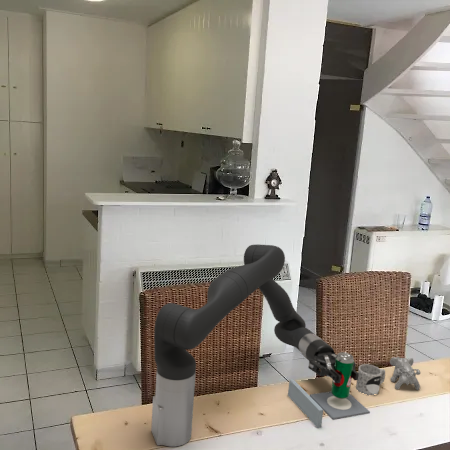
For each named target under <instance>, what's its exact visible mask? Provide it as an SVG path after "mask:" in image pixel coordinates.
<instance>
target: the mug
mask: <svg viewBox="0 0 450 450" xmlns="http://www.w3.org/2000/svg"><path fill="white" fill-rule="evenodd" d="M357 372H358V373H359V375H358V380H356V386H355V389H356V391H357V390H358V391H357V392H358V393H360V392H361V393H360V394H362V393H364V394H367V395H366V396H369V395H374V394H377V395H379V393H378V392H380V387H381V386H380V385H382V384H383V383H384V382H385V378H386V369H384V368H379V367H378V366H377V365H376V366H375V365H373V364H368V363H366V364H364V363H363V364H361V365H359V366H358V371H357ZM364 394H363V395H364ZM374 396H375V395H374Z"/></svg>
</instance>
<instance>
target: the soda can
mask: <svg viewBox="0 0 450 450" xmlns="http://www.w3.org/2000/svg"><path fill="white" fill-rule="evenodd" d="M336 355H337V356H336V359H335V366H334V370H335V371H336V372H337V373H338V374H340V375H341V382H340V383H337V382H336V381H334V380H333V379H332V382H331V388H330V389H331V390H330V391H331V393H332V394H333V396H335V397H336V398H340V399H345V398H347V397H348V396H349V393H350V392H351V385H352V380H353V378H352V373H353V366H354V362H355V360H354V356H353V355H352V354H351V353H348V352H338V353H336ZM350 394H351V393H350Z"/></svg>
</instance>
